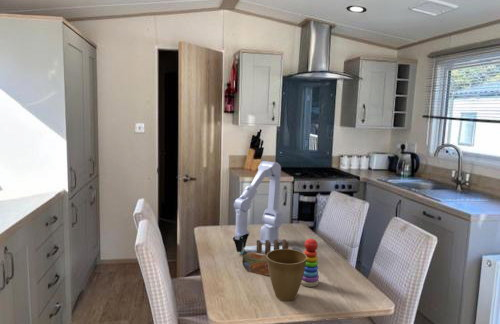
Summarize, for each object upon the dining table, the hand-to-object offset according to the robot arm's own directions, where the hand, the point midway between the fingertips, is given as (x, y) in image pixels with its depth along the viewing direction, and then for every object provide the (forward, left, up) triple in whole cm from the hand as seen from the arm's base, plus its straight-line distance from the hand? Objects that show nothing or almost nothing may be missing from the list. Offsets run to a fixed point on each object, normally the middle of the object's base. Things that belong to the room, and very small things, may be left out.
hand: (241, 249), depth 185 cm
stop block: (+23, +15, -2) cm, 28 cm away
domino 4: (+16, +8, -2) cm, 17 cm away
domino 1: (0, 0, -2) cm, 2 cm away
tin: (+20, -14, -2) cm, 24 cm away
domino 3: (+12, +5, -2) cm, 14 cm away
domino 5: (+18, +11, -2) cm, 22 cm away
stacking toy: (+42, -10, -2) cm, 43 cm away
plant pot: (+40, -26, -2) cm, 48 cm away
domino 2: (+9, +2, -2) cm, 10 cm away
